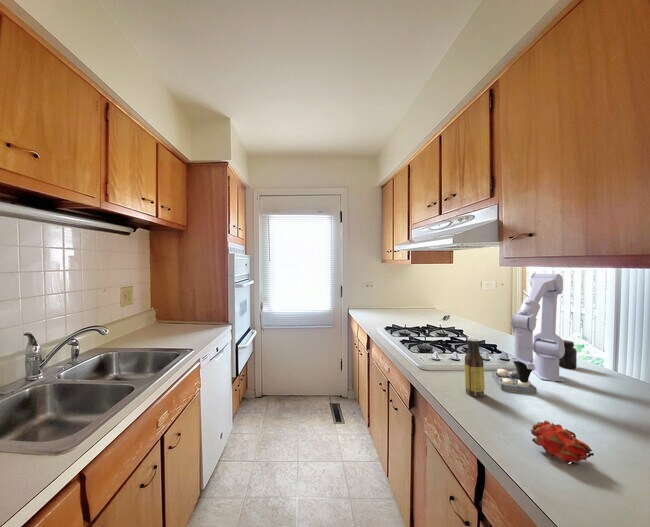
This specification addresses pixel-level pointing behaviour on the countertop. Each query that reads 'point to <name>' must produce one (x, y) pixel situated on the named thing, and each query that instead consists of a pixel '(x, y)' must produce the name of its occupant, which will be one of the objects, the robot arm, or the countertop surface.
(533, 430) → the dragon fruit
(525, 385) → the button front left
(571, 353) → the supplement bottle
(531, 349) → the robot arm
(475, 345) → the sauce bottle
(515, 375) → the button back left charcoal
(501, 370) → the button back right
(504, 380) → the button front right
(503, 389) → the button board
